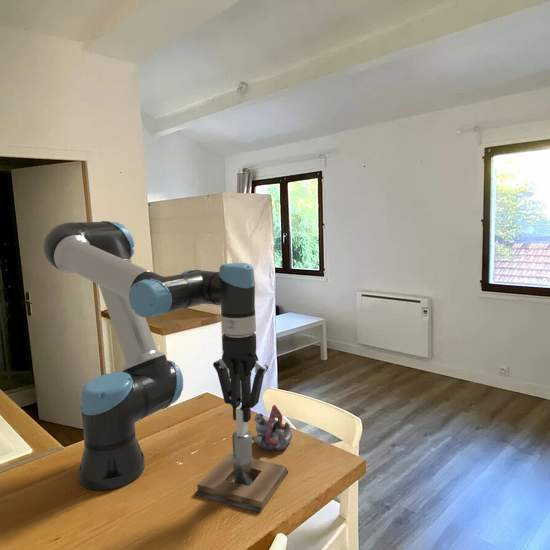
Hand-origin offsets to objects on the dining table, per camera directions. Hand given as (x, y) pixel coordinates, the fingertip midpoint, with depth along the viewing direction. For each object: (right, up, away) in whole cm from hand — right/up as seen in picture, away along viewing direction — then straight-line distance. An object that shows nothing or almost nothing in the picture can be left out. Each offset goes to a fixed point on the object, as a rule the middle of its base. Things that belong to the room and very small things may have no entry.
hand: (242, 433), depth 99 cm
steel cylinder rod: (0, -12, +2) cm, 12 cm away
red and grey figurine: (+7, -10, +19) cm, 23 cm away
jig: (0, -12, +2) cm, 12 cm away
